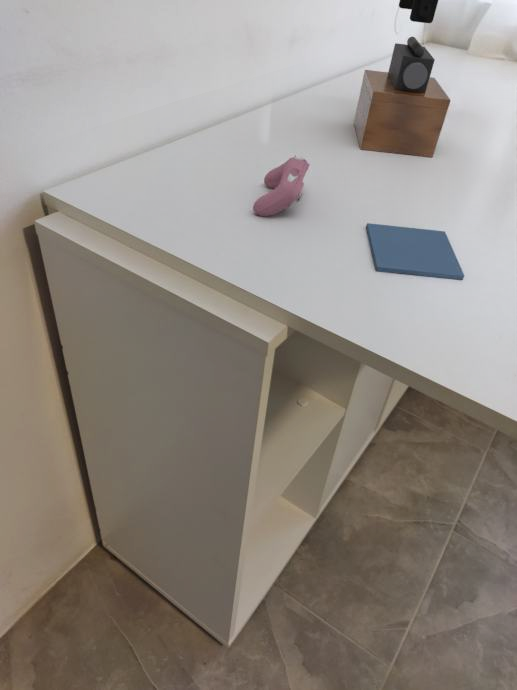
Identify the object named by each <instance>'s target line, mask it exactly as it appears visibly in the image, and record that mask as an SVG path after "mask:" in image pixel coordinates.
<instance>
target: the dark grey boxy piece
mask: <svg viewBox="0 0 517 690" xmlns="http://www.w3.org/2000/svg"><path fill="white" fill-rule="evenodd" d="M406 43H407V44H405V43H396V42H395V43H394V47H393V51H392V55H391V59H390V64H389V68H388V71H387V72H388V77H389V79H390V81H391V83H392V85H393V87H394V89H395V90H401V91H410V92H418V93H425V92H426V89H427V85H428V82H429V78H430V77H431V74H432V70H433V67H434V64H435V58H434V57H433V56H432V55H431V53H430V52H429V50H428V49H427V48H426V46H424V45H423V46H422V44H421V43H420V42H419V41H418V40H417V38H416V37H415V36H410V37H408V38H407V40H406Z"/></svg>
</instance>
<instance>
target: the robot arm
mask: <svg viewBox="0 0 517 690" xmlns="http://www.w3.org/2000/svg"><path fill="white" fill-rule="evenodd" d="M438 5H439V0H399V2H398V8H400V9H402V10H403V9H404V10H411V11H410V15H409V20H410V21H411V22H413V23H414V22H415V23H423V24H432V23H433V22H434V18H435V15H436V11H437V7H438Z"/></svg>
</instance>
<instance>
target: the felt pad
mask: <svg viewBox="0 0 517 690" xmlns="http://www.w3.org/2000/svg"><path fill="white" fill-rule="evenodd" d="M365 228H366V233H367V237H368V241H369V246H370V249H371V250H370V251H371V255H372V259H373V264H374V268H375V271H376V272H383V273H394V274H404V275H411V276H412V275H413V276H420V277H421V276H422V277H429V278H440V279H450V280H452V279H453V280H460V281H463V280H464V278H465V273H464V272H463V269H462V267H461V265H460V263H459V260H458V258H457V255H456V254H455V251H454V249H453V246H452V244H451V241H450V240H449V237H448V235H447V233H446V231H443V230H436V229H435V230H434V229H426V228H416V227H408V226H407V227H406V226H397V225H388V224H379V223H369V222H367V223H366V226H365Z"/></svg>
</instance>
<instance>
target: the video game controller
mask: <svg viewBox="0 0 517 690" xmlns="http://www.w3.org/2000/svg"><path fill="white" fill-rule="evenodd" d="M309 167H310V163H308V161H307V160H306V159H303V158H302V157H298V156H297V155H296V154H295V155H294V157H290V158H288V159H287V160H286V161H285V162H283V163H282V164H280V165H278V166H277V167H275V168H272V169H271V170H269V171H268V172H267V173H266V174H265V176H264V178H263V183H264V185H265V186H266V188H269V189H272V190H271V191H269V192H267V193H265V194H263V195H262V196H260V197H259V198H257V199H256V201H254V203H253V206H252V210H253V213H254V214H256V215H257V216H261V217H263V216H264V217H267V216H268V217H269V216H273V215H275V214H277V213H280V212H281V211H285V210H286V209H287V208H288V207H290V206H292V205H293V204H294V202H295V201H296V202H297V203H299V202H301V201H302V199H303V197H304V193H302V191H303V188H304V185H305V182H304V178H305V176H306V173H307V171H308V169H309Z"/></svg>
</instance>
